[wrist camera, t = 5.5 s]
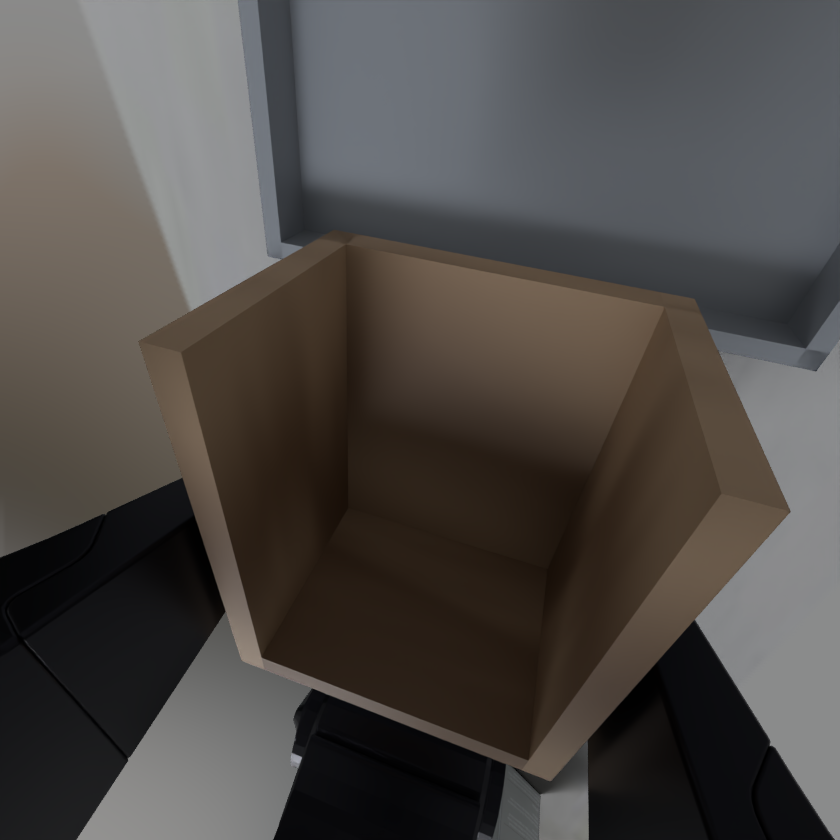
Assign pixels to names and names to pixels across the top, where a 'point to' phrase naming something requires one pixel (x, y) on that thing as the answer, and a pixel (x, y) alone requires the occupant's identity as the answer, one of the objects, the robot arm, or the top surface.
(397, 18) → the tray
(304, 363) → the scoop
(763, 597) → the top surface
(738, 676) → the top surface
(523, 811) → the skincare box
